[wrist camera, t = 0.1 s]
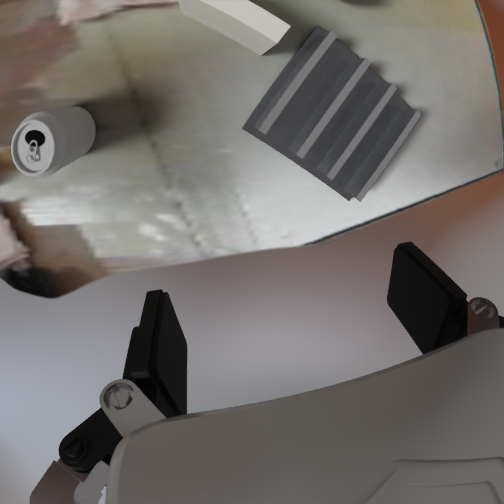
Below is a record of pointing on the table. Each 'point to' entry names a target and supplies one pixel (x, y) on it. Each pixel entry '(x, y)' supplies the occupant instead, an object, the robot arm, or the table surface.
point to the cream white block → (238, 21)
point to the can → (52, 140)
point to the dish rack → (333, 116)
